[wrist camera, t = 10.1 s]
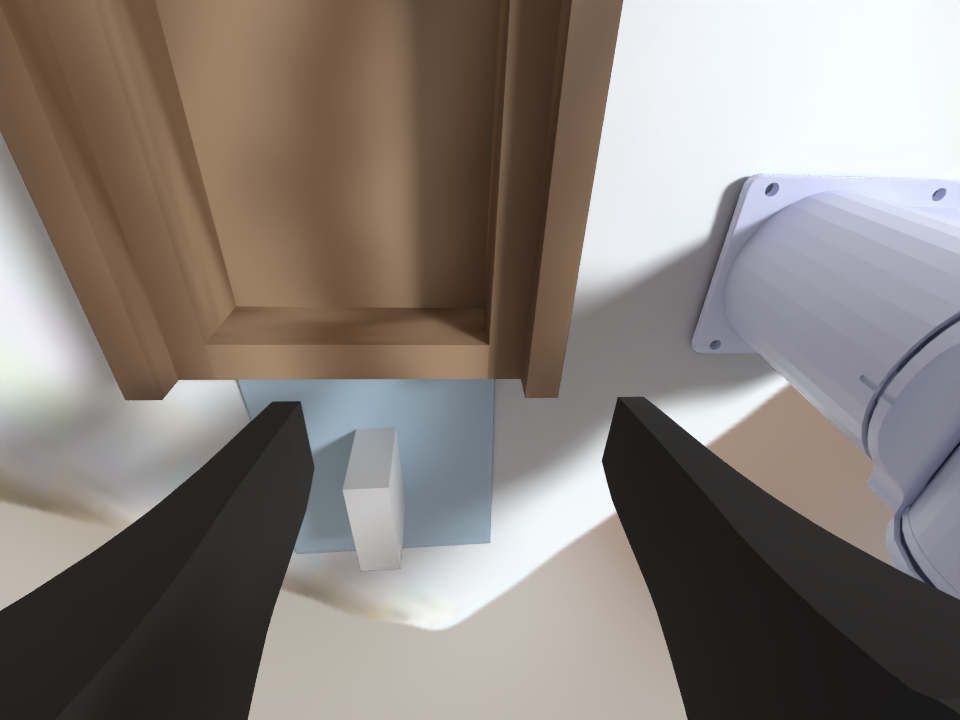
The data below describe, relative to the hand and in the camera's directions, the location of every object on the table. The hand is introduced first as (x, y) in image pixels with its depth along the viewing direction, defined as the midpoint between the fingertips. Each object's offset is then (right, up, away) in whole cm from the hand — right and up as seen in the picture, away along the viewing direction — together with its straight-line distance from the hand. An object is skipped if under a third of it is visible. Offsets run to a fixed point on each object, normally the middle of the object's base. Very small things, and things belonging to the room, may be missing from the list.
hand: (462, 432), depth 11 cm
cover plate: (-5, -4, +15) cm, 17 cm away
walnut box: (-4, +10, +6) cm, 12 cm away
